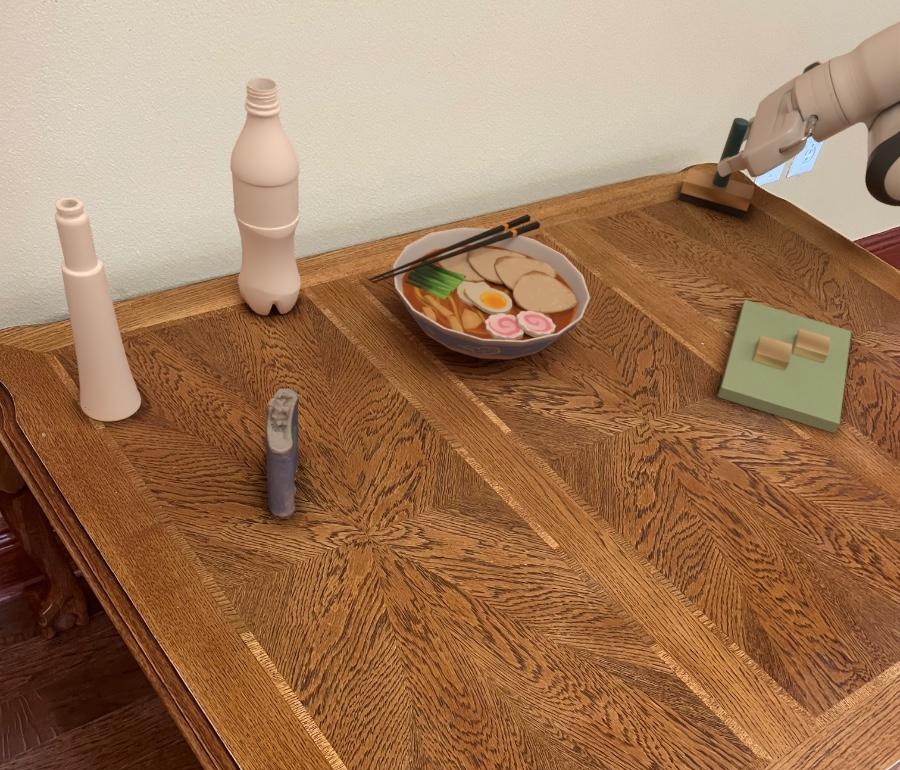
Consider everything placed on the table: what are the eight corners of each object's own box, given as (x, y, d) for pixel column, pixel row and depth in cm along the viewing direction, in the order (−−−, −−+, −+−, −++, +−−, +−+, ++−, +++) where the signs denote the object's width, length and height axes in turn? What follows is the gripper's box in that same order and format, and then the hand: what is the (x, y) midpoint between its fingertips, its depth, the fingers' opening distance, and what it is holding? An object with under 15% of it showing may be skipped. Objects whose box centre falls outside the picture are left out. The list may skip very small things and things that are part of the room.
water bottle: (310, 296, 114) (310, 79, 94) (284, 328, 109) (279, 107, 90) (256, 279, 115) (245, 61, 95) (228, 310, 110) (211, 88, 91)
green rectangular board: (740, 309, 123) (744, 299, 122) (846, 340, 121) (851, 330, 120) (717, 397, 111) (721, 387, 110) (834, 433, 109) (839, 423, 108)
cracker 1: (756, 343, 116) (760, 334, 115) (788, 352, 115) (792, 344, 115) (752, 361, 113) (756, 352, 113) (785, 370, 113) (789, 362, 112)
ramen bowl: (462, 425, 102) (472, 363, 96) (342, 315, 112) (344, 253, 106) (620, 354, 114) (639, 295, 107) (499, 260, 124) (509, 201, 117)
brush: (747, 205, 141) (778, 124, 132) (743, 219, 138) (774, 137, 129) (683, 187, 142) (709, 105, 133) (677, 200, 139) (704, 117, 130)
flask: (294, 521, 91) (292, 437, 82) (263, 520, 90) (258, 435, 82) (300, 456, 96) (299, 371, 88) (271, 454, 96) (267, 369, 88)
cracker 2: (795, 336, 118) (799, 328, 117) (826, 345, 117) (830, 337, 116) (791, 353, 115) (795, 345, 114) (823, 363, 115) (828, 355, 114)
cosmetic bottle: (153, 402, 99) (120, 204, 82) (108, 430, 95) (64, 230, 78) (113, 377, 101) (73, 177, 84) (68, 403, 97) (16, 201, 80)
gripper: (822, 157, 121) (722, 207, 130) (834, 97, 134) (743, 147, 143) (803, 113, 118) (702, 167, 127) (817, 56, 131) (725, 109, 140)
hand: (724, 156), depth 135 cm, fingers open, 8 cm apart
